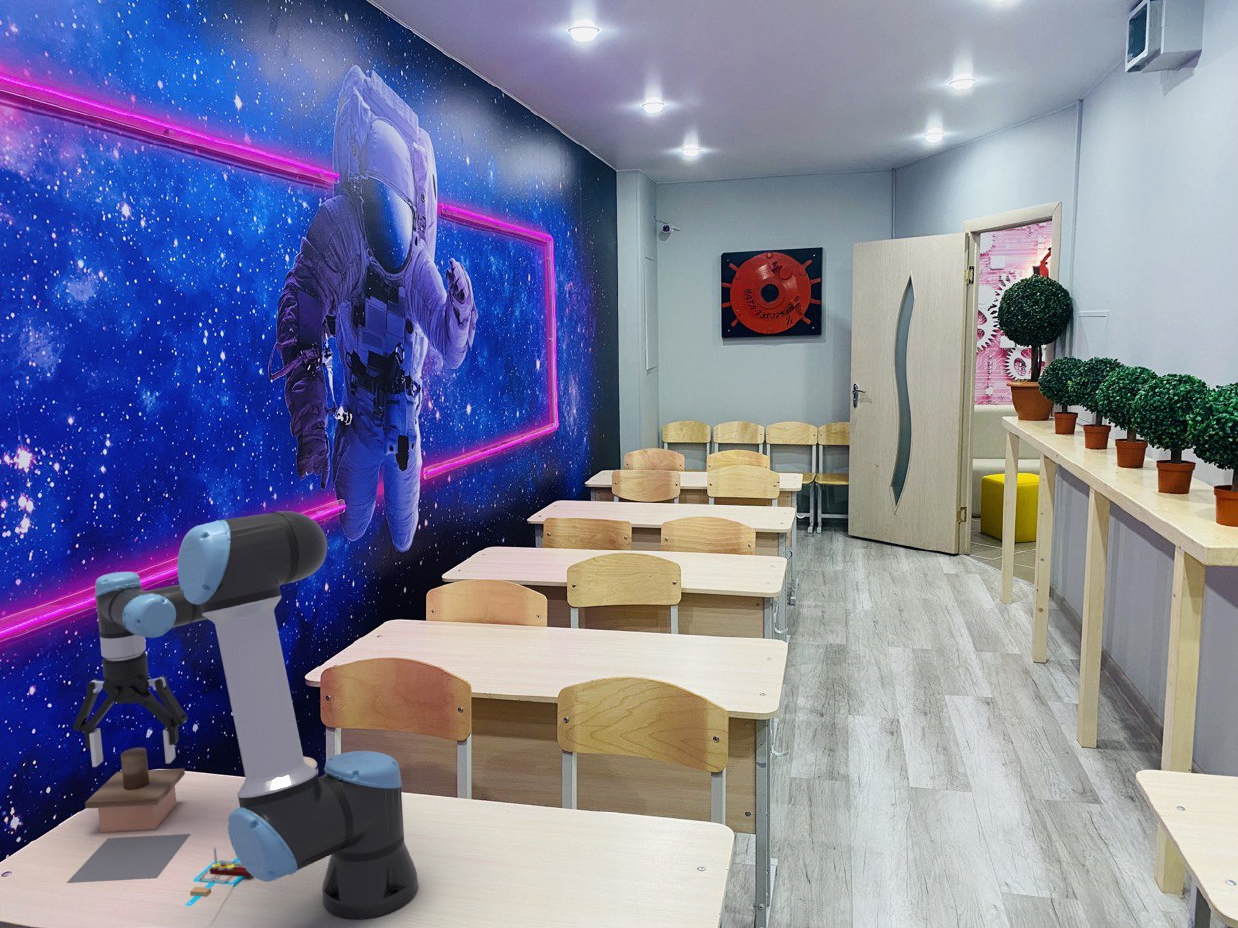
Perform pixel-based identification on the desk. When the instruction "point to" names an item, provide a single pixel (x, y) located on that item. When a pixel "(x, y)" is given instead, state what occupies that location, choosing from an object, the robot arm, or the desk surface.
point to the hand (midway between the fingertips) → (134, 762)
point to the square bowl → (136, 815)
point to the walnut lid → (135, 783)
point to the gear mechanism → (218, 868)
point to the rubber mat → (130, 858)
